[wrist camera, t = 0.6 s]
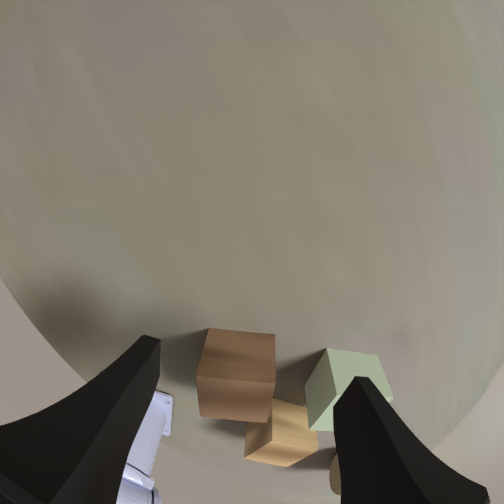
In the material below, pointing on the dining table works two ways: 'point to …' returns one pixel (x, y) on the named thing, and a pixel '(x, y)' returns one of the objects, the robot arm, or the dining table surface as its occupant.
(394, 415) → the robot arm
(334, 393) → the sage block
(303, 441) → the oak block
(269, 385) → the walnut block
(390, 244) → the dining table surface
